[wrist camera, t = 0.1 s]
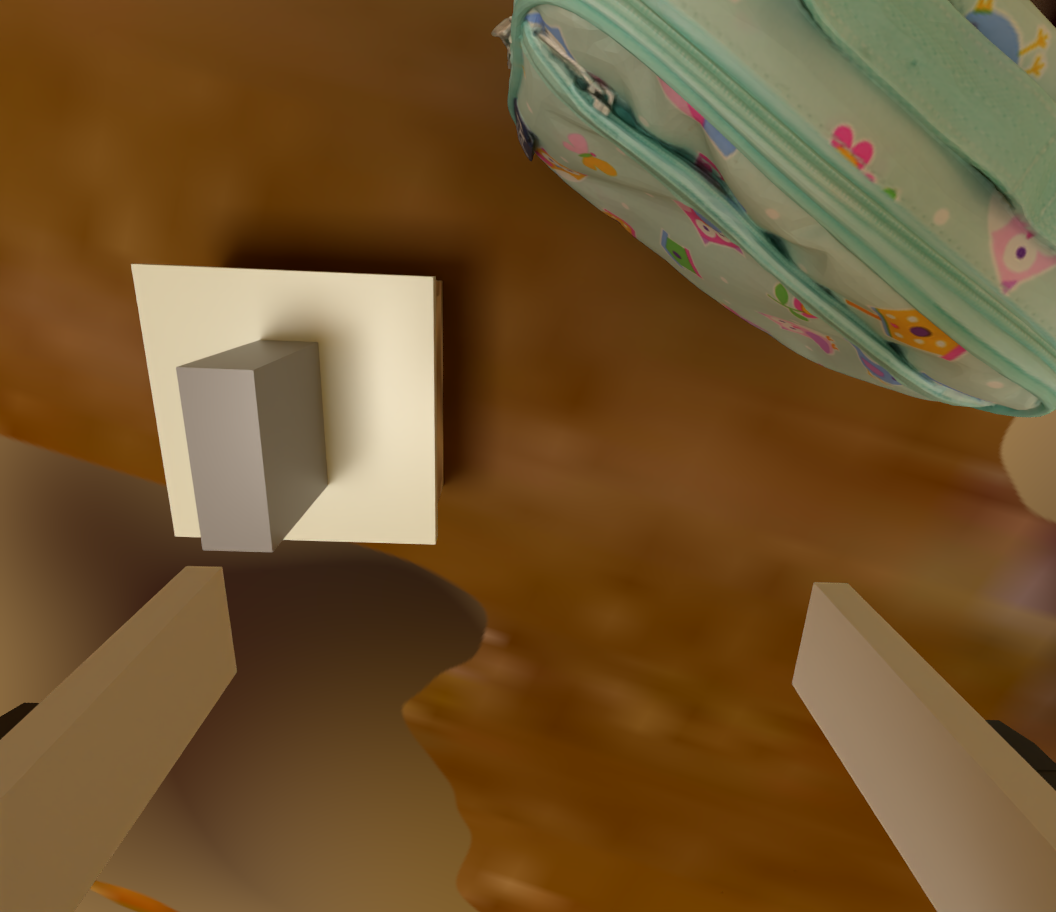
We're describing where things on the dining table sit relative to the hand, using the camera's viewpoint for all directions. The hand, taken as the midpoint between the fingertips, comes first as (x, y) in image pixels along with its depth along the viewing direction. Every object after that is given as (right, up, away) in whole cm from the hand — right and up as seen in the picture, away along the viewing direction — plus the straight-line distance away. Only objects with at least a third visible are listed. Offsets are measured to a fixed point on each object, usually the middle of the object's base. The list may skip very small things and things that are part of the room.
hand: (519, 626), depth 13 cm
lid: (-12, +7, +21) cm, 25 cm away
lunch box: (+11, +20, +23) cm, 33 cm away
